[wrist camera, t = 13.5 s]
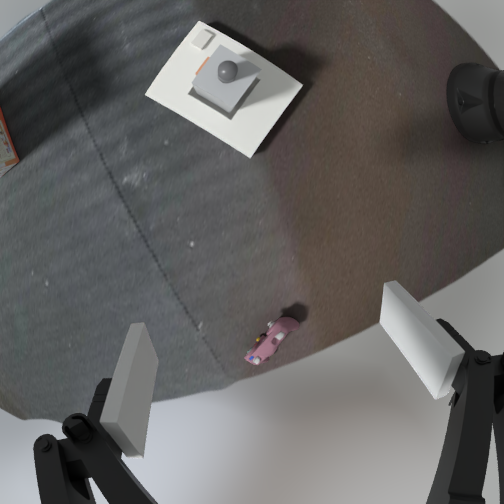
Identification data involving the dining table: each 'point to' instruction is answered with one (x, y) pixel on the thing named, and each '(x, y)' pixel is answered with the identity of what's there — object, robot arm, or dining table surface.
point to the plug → (224, 78)
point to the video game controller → (271, 340)
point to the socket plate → (208, 114)
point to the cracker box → (6, 148)
